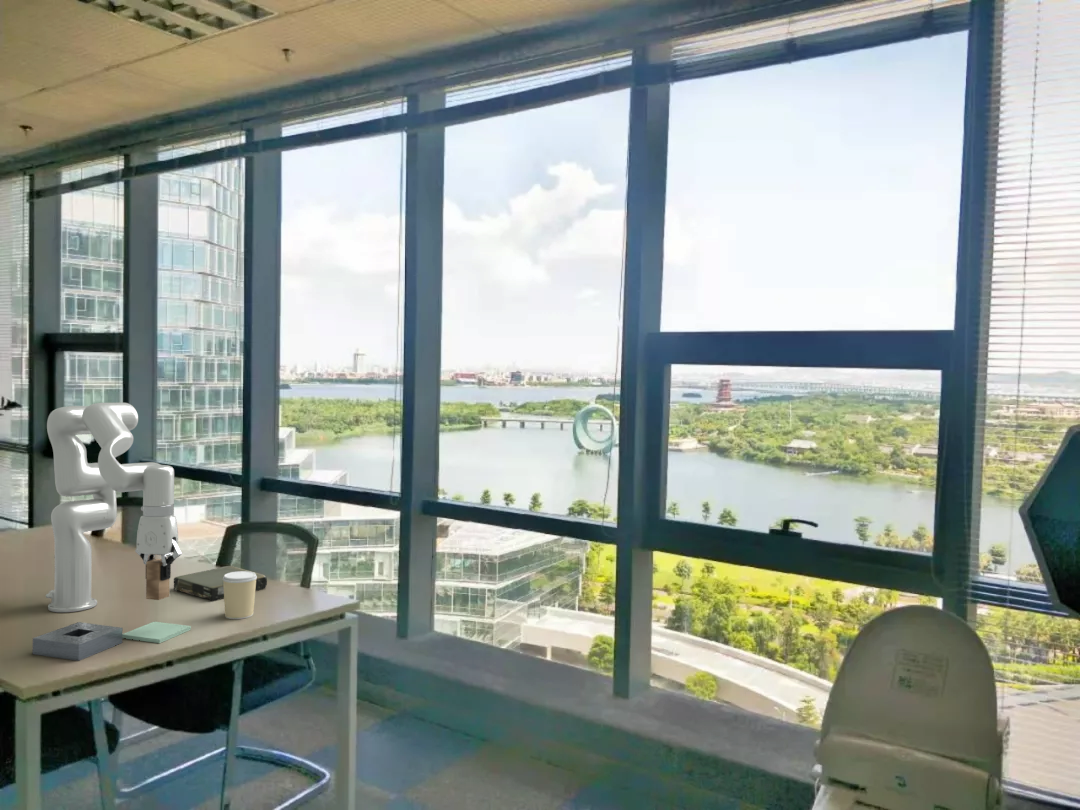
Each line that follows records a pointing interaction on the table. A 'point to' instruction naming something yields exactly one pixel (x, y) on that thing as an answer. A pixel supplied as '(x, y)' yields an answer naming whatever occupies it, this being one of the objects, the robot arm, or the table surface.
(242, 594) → the coffee cup
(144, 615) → the table surface
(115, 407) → the robot arm
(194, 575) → the network switch
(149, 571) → the walnut peg
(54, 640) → the hole block
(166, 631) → the green pad
